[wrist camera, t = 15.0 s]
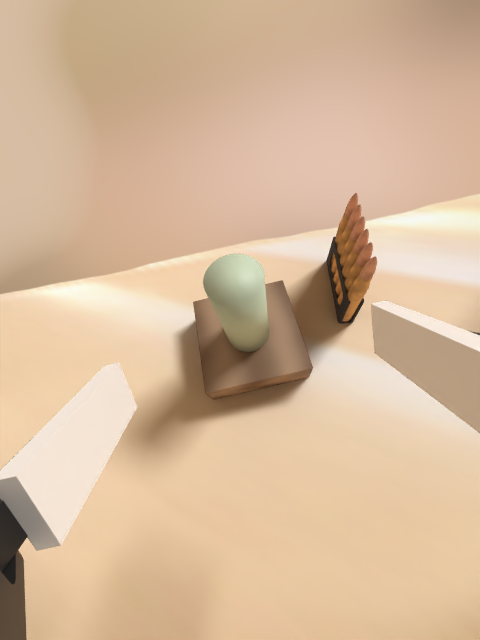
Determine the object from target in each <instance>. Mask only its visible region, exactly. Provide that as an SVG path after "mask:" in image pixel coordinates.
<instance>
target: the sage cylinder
mask: <svg viewBox="0 0 480 640" xmlns="http://www.w3.org/2000/svg"><path fill="white" fill-rule="evenodd" d="M203 284H204V289H205V291H206V293H207V296H208V298H209V300H210V302H211V304H212V306H213V308H214V310H215V312H216V314H217V316H218V319H219V321H220V323H221V325H222V327H223V329H224V331H225V333H226V335H227V337H228V340H229V342H230V343H231V345H232V346H233V347H234V348H236V349H237V350H240V351H243V352H252V351H255V350H258V349H259V348H261V347H262V346H263V345H264V344H265V343H266V341H267V339H268V337H269V324H268V312H267V301H266V290H265V278H264V271H263V268H262V266H261V265H260V263H259V262H258V261H257V260H255V259H254V258H252V257H250V256H248V255H244V254H230V255H226V256H223V257H221V258H219V259H217V260H216V261H215V262H213V263H212V264H211V265H210V266H209V268H208V269H207V271H206V273H205V275H204V280H203Z"/></svg>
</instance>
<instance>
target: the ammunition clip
mask: <svg viewBox="0 0 480 640" xmlns="http://www.w3.org/2000/svg"><path fill="white" fill-rule="evenodd" d="M357 204H358V196H357V193H355V194H354V195H353V196H352V198H351V199H350V201H349V203H348V205H347V207H346V210H345V213H344V216H343V218H342V220H341V222H340V224H339V228H338V231H337V235H336V237H333V241H332V244H331V248H330V251H329V254H328V258H327V265H328V271H329V276H330V281H331V286H332V292H333V297H334V302H335V307H336V313H337V318H338V322H339V323H351V322H353V321H354V319H355V317H356V315H357V314H358V312H359V310H360V308H361V306H362V305H363V303H364V298H363V297H364V295H365V293H366V292H367V290H368V288H369V284H370V281H371V279H372V276H373V274H374V272H375V269H376V266H377V258H376V257H373V258H371V255H372V250H373V245H372V243H371V242H370V243H368V244H367V242H368V237H369V232H368V229H366V230H364V227H365V219H364V217H361V205H358V206H357ZM360 217H361V218H360ZM370 258H371V259H370Z"/></svg>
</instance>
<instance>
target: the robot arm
mask: <svg viewBox="0 0 480 640" xmlns="http://www.w3.org/2000/svg"><path fill="white" fill-rule="evenodd" d="M371 313H372V325H373V338H374V351H375V354H377V355H378V356H379V357H381V358H382V359H383V360H385V361H386V362H387V363H389V364H390V365H391V366H392V367H394V368H395V369H396V370H398V371H399V372H400V373H402V374H403V375H404V376H406V377H407V378H408V379H409V380H411V381H412V382H413V383H415V384H416V385H417V386H419V387H420V388H421V389H423V390H424V391H425V392H427V393H428V394H429V395H430V396H432V397H433V398H434V399H436V400H437V401H438V402H440V403H441V404H442V405H444V406H445V407H446V408H448V409H449V410H450V411H451V412H453V413H454V414H455V415H457V416H458V417H459V418H461V419H462V420H463V421H465V422H466V423H467V424H469V425H470V426H471V427H472V428H474V429H475V430H476V431H478V432H479V433H480V333H475V332H470V331H467V330H464V329H461V328H458V327H456V326H453V325H450V324H448V323H445V322H442V321H440V320H437V319H434V318H432V317H429V316H426V315H424V314H421V313H418V312H416V311H413V310H410V309H408V308H405V307H402V306H400V305H397V304H394V303H392V302H389V301H386V300H385V301H381V302H377V303H373V304H371ZM136 409H137V405H136V402H135V400H134V398H133V395H132V393H131V390H130V388H129V386H128V383H127V381H126V378H125V376H124V374H123V371H122V369H121V366H120V364H119V363H115V364H111V365H107V366H104V367H103V368H102V369H101V370H100V371H99V372H98V373H97V374H96V375H95V376H94V377H93V378H92V379H91V380H90V381H89V382H88V383H87V384H86V385H85V386H84V387H83V388H82V389H81V390H80V391H79V392H78V393H77V394H76V395H75V396H74V397H73V398H72V399H71V400H70V401H69V402H68V403H67V404H66V405H65V406H64V407H63V408H62V409H61V410H60V411H59V412H58V413H57V414H56V415H55V416H54V417H53V418H52V419H51V420H50V421H49V422H48V423H47V424H46V425H45V426H44V427H43V428H42V429H41V430H40V431H39V432H38V433H37V434H36V435H35V436H34V437H33V438H32V439H31V440H30V441H29V442H28V443H27V444H26V445H25V446H24V447H23V448H22V449H21V450H20V451H19V452H18V453H17V454H16V455H15V456H14V457H13V458H12V459H11V460H10V461H9V462H8V463H7V464H6V465H5V466H4V467H3V468H2V469H1V470H0V640H26V616H25V588H24V560H23V558H22V555H21V554H20V553H19V551H18V549H19V548H20V546H21V545H22V544H23V542H24V541H25V539H26V538H28V539H29V540H30V542H31V543H32V545H33V546H34V548H35V549H36V550H42V549H47V548H51V547H56V546H61V545H62V543H63V541H64V539H65V537H66V536H67V534H68V532H69V530H70V528H71V527H72V525H73V523H74V521H75V519H76V518H77V516H78V514H79V512H80V510H81V508H82V507H83V505H84V503H85V501H86V499H87V498H88V496H89V494H90V492H91V490H92V488H93V487H94V485H95V483H96V481H97V479H98V478H99V476H100V474H101V472H102V470H103V469H104V467H105V465H106V463H107V461H108V459H109V458H110V456H111V454H112V452H113V450H114V449H115V447H116V445H117V443H118V441H119V440H120V438H121V436H122V434H123V432H124V430H125V429H126V427H127V425H128V423H129V421H130V420H131V418H132V416H133V414H134V412H135V410H136Z"/></svg>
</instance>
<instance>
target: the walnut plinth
mask: <svg viewBox="0 0 480 640" xmlns="http://www.w3.org/2000/svg"><path fill="white" fill-rule="evenodd" d="M265 290H266V301H267V312H268V324H269V337H268V339H267V341H266V343H265V344H264V345H263V346H262V347H261V348H259V349H258V350H255V351H252V352H243V351H240V350H237V349H236V348H234V347H233V346H232V345H231V343H230V342H229V340H228V337H227V335H226V333H225V331H224V329H223V327H222V325H221V323H220V321H219V319H218V316H217V314H216V312H215V310H214V308H213V306H212V304H211V302H210V300H209V298H207V299H203V300H199V301H195V302H193V304H194V311H195V319H196V326H197V334H198V341H199V349H200V356H201V364H202V371H203V378H204V386H205V393H206V394H207V395H208V396H210V397H211V398H212V399H217V398H222V397H226V396H230V395H235V394H239V393H243V392H247V391H252V390H256V389H260V388H265V387H269V386H273V385H277V384H282V383H286V382H290V381H295V380H299V379H303V378H307V377H309V376H310V373H311V371H312V369H313V367H312V364H311V361H310V358H309V355H308V352H307V349H306V346H305V344H304V341H303V338H302V335H301V332H300V329H299V326H298V323H297V321H296V318H295V315H294V312H293V309H292V306H291V303H290V300H289V298H288V295H287V292H286V289H285V286H284V283H283V280H282V281H278V282H273V283H269V284H265Z"/></svg>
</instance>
